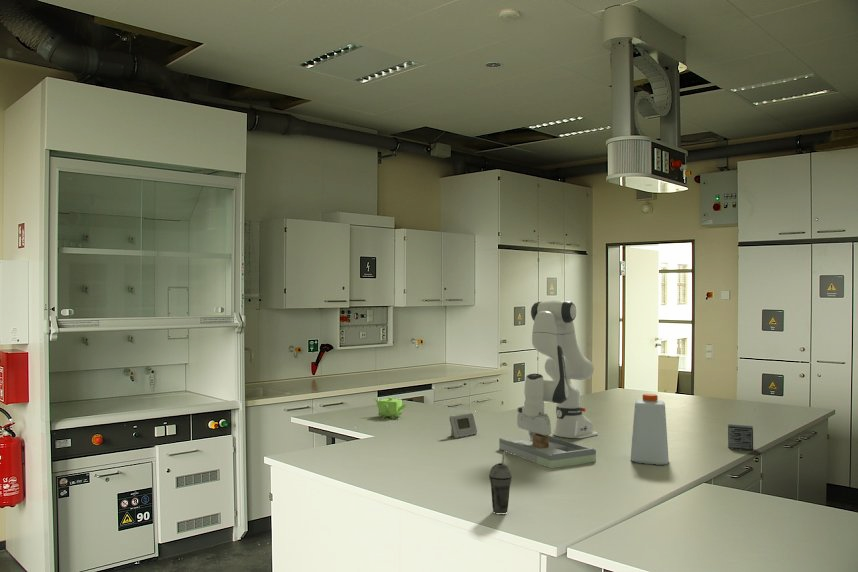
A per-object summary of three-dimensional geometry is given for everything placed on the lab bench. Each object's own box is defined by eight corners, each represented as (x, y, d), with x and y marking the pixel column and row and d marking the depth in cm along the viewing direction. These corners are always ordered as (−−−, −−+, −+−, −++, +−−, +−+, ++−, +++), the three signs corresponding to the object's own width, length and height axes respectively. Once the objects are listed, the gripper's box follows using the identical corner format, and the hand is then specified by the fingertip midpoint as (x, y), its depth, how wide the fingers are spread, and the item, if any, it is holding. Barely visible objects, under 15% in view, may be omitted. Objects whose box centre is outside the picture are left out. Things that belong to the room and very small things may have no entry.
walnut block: (541, 444, 294) (541, 433, 294) (548, 447, 290) (549, 436, 290) (532, 445, 292) (532, 434, 292) (539, 448, 287) (539, 437, 287)
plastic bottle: (668, 458, 286) (668, 393, 286) (668, 466, 271) (669, 398, 272) (631, 455, 290) (632, 391, 291) (630, 463, 276) (630, 396, 277)
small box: (753, 448, 307) (753, 425, 307) (753, 451, 301) (753, 428, 301) (728, 445, 311) (728, 423, 311) (727, 448, 305) (728, 425, 305)
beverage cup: (486, 509, 215) (487, 447, 215) (508, 508, 215) (509, 447, 215) (490, 516, 207) (491, 452, 208) (513, 516, 208) (514, 452, 208)
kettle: (372, 416, 375) (373, 396, 376) (395, 414, 382) (395, 394, 383) (384, 420, 362) (384, 399, 363) (407, 418, 369) (407, 398, 370)
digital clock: (454, 439, 318) (454, 417, 318) (444, 435, 326) (444, 414, 326) (481, 435, 327) (481, 414, 327) (470, 432, 334) (471, 411, 334)
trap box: (541, 444, 309) (541, 432, 309) (595, 461, 278) (595, 448, 278) (499, 449, 298) (499, 437, 298) (551, 468, 266) (551, 454, 266)
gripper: (554, 414, 287) (554, 445, 287) (526, 406, 305) (525, 436, 305) (543, 415, 284) (542, 447, 284) (514, 407, 302) (514, 438, 302)
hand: (533, 441), depth 295 cm, fingers closed
